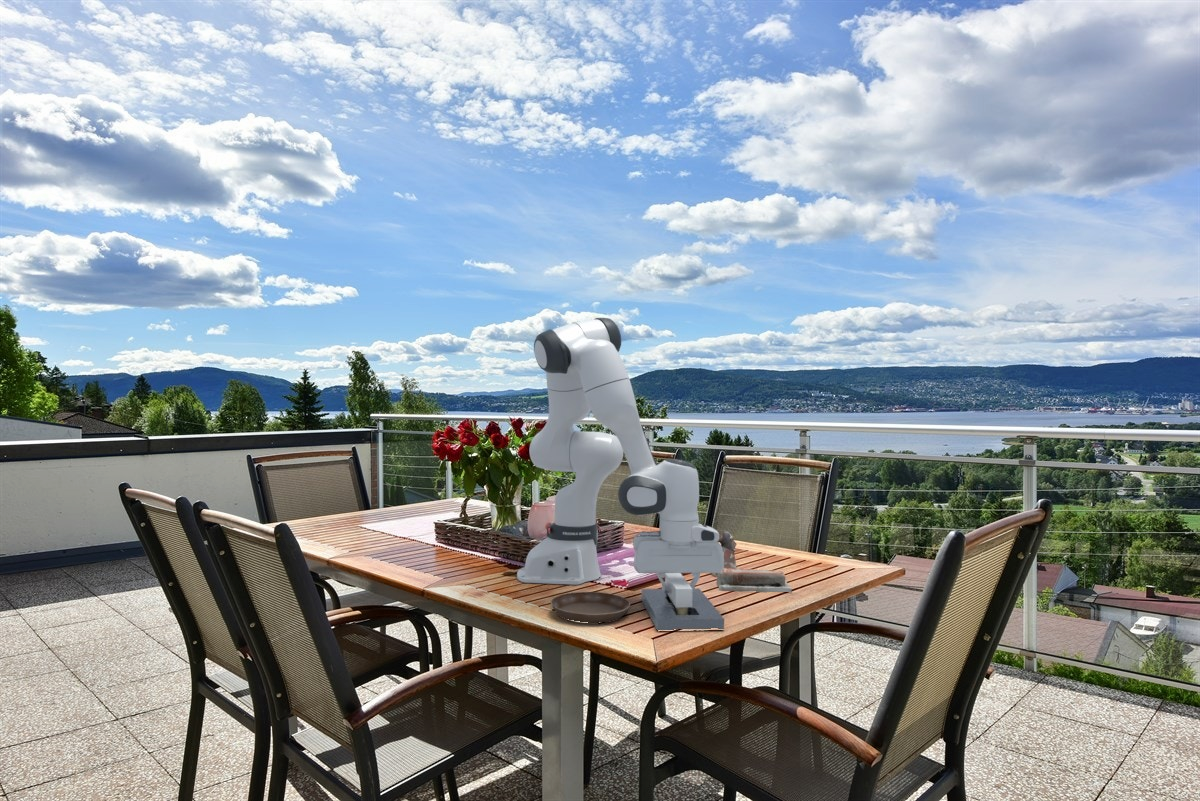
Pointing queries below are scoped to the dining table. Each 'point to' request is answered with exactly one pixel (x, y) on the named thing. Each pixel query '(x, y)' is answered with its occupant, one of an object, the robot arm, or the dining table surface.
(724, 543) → the figurine
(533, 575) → the robot arm
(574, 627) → the dining table surface
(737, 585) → the packaged product
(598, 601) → the plant saucer
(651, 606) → the keyhole plate
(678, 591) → the white pronged plug block
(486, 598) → the dining table surface
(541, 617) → the dining table surface
